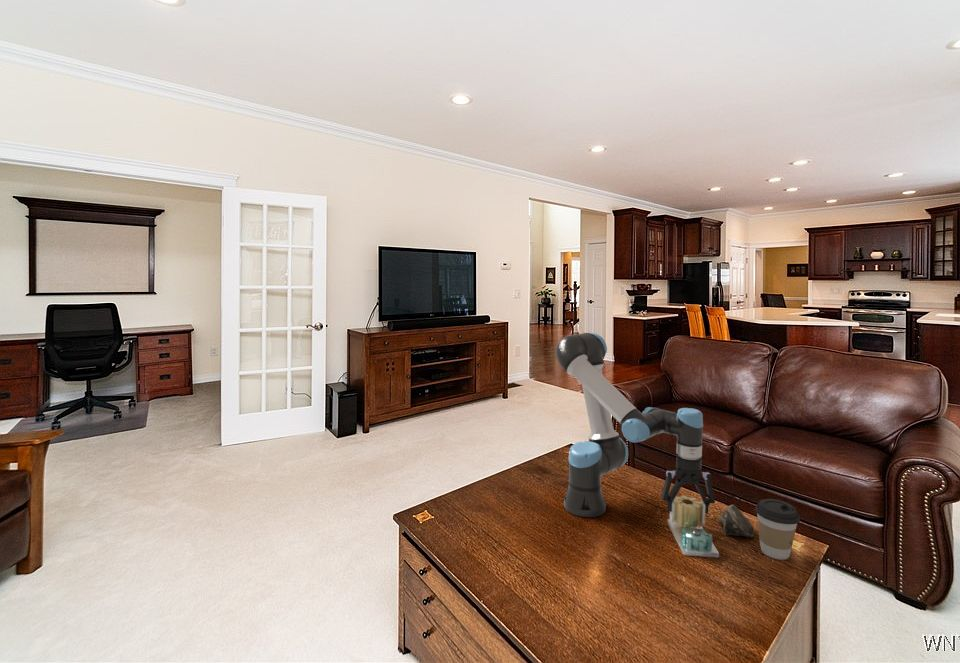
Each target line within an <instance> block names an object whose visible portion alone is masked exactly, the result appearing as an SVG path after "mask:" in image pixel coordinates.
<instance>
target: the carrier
mask: <svg viewBox="0 0 960 663" xmlns="http://www.w3.org/2000/svg"><path fill="white" fill-rule="evenodd" d="M666 522H667V525H668V526H669V529H670V531H671V532H672V534H673V537H674V539H675V541H676V543H677V545H678V547H679V549H680V551H681V552H682V554H683V556H690V557H691V556H693V557H703V558H704V557H706V558H707V557H708V558H717V559H718V558H720V553H719V551H718V549H717V547H716V546H715V544H714V543H713V535H712V533H707V531H706V529H704V528H703V526H702V525H701V527H700V528H698V527H696V528H695V527H694V526H690V528H688V527H684V526H682V527H681V526H678V524H677V522H672V521H671V520H670V518H668V519H667V521H666Z"/></svg>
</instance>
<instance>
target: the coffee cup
mask: <svg viewBox="0 0 960 663" xmlns="http://www.w3.org/2000/svg"><path fill="white" fill-rule="evenodd" d="M754 510H755V513H756V516H757V524H758V535H759V545H760V549H761V552H762V553H763V554H764V555H766V556H767V557H769V558H772V559H775V560H780V561H781V560H782V561H785V560H788V559H789V557H790V556H791V552H792V547H793V543H794V539H795V534H796V530H797V526H798V524H799V523H800V521H801V518H800V517H801V515H800V514H799V512H798V510H797V509H796V508H795V506H793V505H792V504H790V503H788V502H787V501H783V500H779V499H774V498H765V499H764V498H763V499H761V500H759V501H758V503H756V505H755V508H754Z"/></svg>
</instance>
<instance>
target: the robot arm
mask: <svg viewBox="0 0 960 663" xmlns="http://www.w3.org/2000/svg"><path fill="white" fill-rule="evenodd" d="M606 343H607V342H606V341H605V339H604V338H603V337H602V336H600V334H597V333H595V332H584V333H583V332H582V333H576V334H568V335H566V336H563V337H562V338H561V339H560V340H559V341H558V342H557V344H556V347H555V356H556V360H557V362H558V364H559V365H560V367H561V368H562V370H564V371H565V373H566V374H568V375H571V376H573V377H574V378H575V379H576V380H577V381H578V382H579V383H580V384H581V387H582V393H583V397H584V401H585V403H584V404H585V408H586V412H587V417H588V423H589V427H590V434H589V436H588V441H584V442H583V441H579V442H576V443H574V444H573V445H571V446H570V448H569V451H568V452H569V453H568V487H567V489H566V493H565V496H564V499H563V506H564V509H565V510H566V511H567V512H568V513H570V514H572V515H575V516H577V517H583V518H595V517H600V516H602V515H603V514H604V513H605V512H606V509H607V508H606V507H607V506H606V505H607V503H606V499H605V498H604V495H603V491H602V490H603V489H602V476H605V475H606V474H609V473H611V472H613V471H616V470H618V469H620V468H621V467H622V466H624V465H625V464H626V463H627V461H628V459H629V448H628V445H627V443H626V442H625V441H624V440H623V439H622V438H621V437H620V434H619V432H617V431H616V430H615V429H614V424H613V420H612V417H613V418H614V419H615V420H616V421H617V422H618V423H619V424H620V425H621V433H622V435H623V438H625V440H627V441H629V442H630V443H634V444H635V443H640V442H645V441H646V440H648V439H650V438H652V437H655V436H657V435H660V434H662V433H664V434H667V435H673V436H676V455H675V456H676V459H675V460H676V461H675V469H674V470H669V469H666V470H665V481H664V483H663V488H662V491H661V494H660V495H661V497H660V498H662V500H663V501H664V502H666V510H667V511H668V512H669V519H670V520H671V521H672V522H674V516H675V503H674V502H673V500H674V498H675V497H676V496H677V495H678V494H679V492H680V490H681V488H682V487H684V486H685V485H694V486H695V487H696V490H697V492H698V494H699V496H700V497H701V499H702V500H700V501H699V502H702V524H701V525H706V515H707V514H708V513H709V506H711V504H715V503H716V500H715V495H714V490H713V486H712V477H713V476H712V474H711V473H710V472H709V471H702V462H703V461H702V456H703V428H704V422H703V421H704V418H703V417H704V415H703V413H702V411H701V410H699V409H696V408H691V407H690V408H689V407H682V408H678V410H677V412H676V411H670V410H666V409H660V408H659V407H651V406H647V407H645V408H644V410H643V411H642V412H641V411H640V410H639V409H637V407H636V406H635V405H633V404H632V402H630V401H629V399H627V397H625V395H623V394H622V392H620V391H619V389H617V388H616V387H615V386H614V385H613V384H612V383H611V382H610V381H609V380H608V379H607V378H606V377H605V376H604V375H603V371H602V370H603V369H602V368H603V367H604V366H605V361H604V358H605V357H606V355H607V353H608V347H607V344H606ZM675 476H676V477H677V478H676V479H675V483H674V484H673V486H672V488H671V485H672V483H673V482H672V481H673V479H674V478H675ZM701 478H703V479H704V484H705V488H706V492H707V495H706V494H705V492H704V490H703V488H702V485H701V484H700V481H699V480H701ZM670 489H671V490H670Z"/></svg>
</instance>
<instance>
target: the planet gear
mask: <svg viewBox="0 0 960 663" xmlns="http://www.w3.org/2000/svg"><path fill="white" fill-rule="evenodd" d="M673 502H674V503H675V516H674V522H677V524H678V526H681V527H682V526H684V527H688V528H690V526H694V527H695V528H696V527H698V528H700V527H701V526H702V525H703V524H702V502H700V501H699V500H698V499H697V498H696V497H691V496H686V495H681V496H677V495H676V497H675V498H674V500H673Z"/></svg>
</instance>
